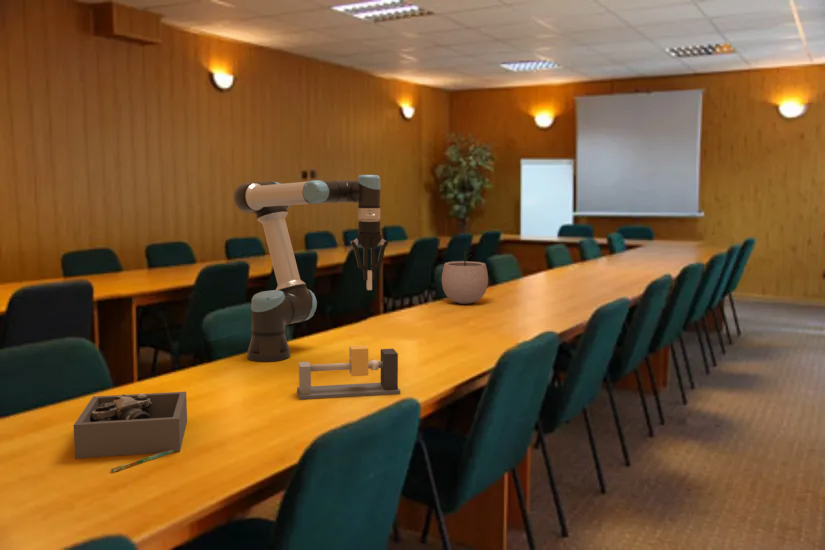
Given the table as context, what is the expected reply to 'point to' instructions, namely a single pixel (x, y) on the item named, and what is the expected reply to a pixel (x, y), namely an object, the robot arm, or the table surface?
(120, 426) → the open storage box
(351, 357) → the sleeve
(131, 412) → the camera
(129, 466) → the pencil
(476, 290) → the plant pot
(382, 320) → the table surface
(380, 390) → the rail
